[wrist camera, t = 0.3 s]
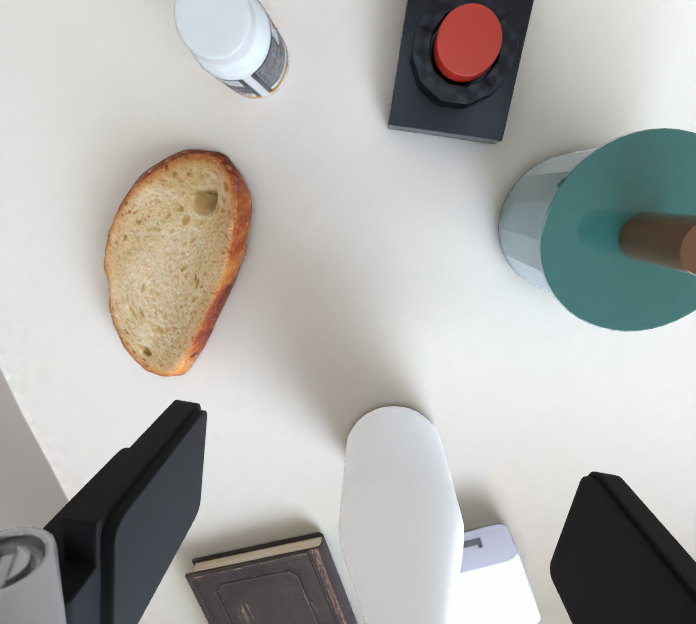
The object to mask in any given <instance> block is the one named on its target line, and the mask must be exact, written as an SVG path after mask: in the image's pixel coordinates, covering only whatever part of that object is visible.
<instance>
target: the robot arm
mask: <svg viewBox="0 0 696 624" xmlns="http://www.w3.org/2000/svg"><path fill="white" fill-rule="evenodd" d="M206 423H207V412H206V411H203V410H201V407H200V404H198V403H192V402H186V401H181V400H175V401H174V402H173V403H172V404H171V405H170V406H169V407H168V408H167V409H166V410H165V411H164V412H163V413H162V414H161V415H160V416H159V417H158V419H157V420H156V421H155V422H154V423H153V424H152V425H151V426H150V427H149V428H148V429H147V430H146V431H145V432H144V433H143V434H142V435H141V436H140V437H139V438H138V439H137V441H136V442H135V443H134V444H133V445H132V446H131V447H130V448H123V449H121V450H120V451H119V452H118V453H117V454H116V455H115V456H114V457H113V458H112V459H111V460H110V461H109V462H108V463H107V464H106V465H105V466H104V467H103V468H102V469H101V470H100V471H99V472H98V473H97V474H96V475H95V476H94V477H93V478H92V479H91V480H90V481H89V482H88V483H87V484H86V485H85V486H84V487H83V488H82V489H81V490H80V491H79V492H78V493H77V494H76V495H75V496H74V497H73V498H72V499H71V500H70V501H69V502H68V503H67V504H66V506H64V507H63V509H62V510H61V511H60V512H59V513H58V514H57V515H56V516H55V517H54V518H53V519H52V520H51V521H50V522H49V523H48V524H47V525H46V526H45V527H44V528H43V529H40V528H36V527H15V528H10V529H5V530H2V531H0V624H138V622H139V621H140V619H141V617H142V615H143V613H144V611H145V609H146V608H147V606H148V604H149V602H150V600H151V598H152V597H153V595H154V593H155V591H156V589H157V587H158V586H159V584H160V582H161V580H162V578H163V576H164V575H165V573H166V571H167V569H168V567H169V565H170V564H171V562H172V560H173V558H174V556H175V554H176V553H177V551H178V549H179V547H180V545H181V543H182V541H183V540H184V538H185V536H186V534H187V532H188V530H189V529H190V527H191V525H192V523H193V521H194V519H195V517H196V515H197V513H198V510H199V506H200V500H201V487H202V474H203V461H204V449H205V436H206ZM550 574H551V578H552V581H553V583H554V585H555V587H556V589H557V591H558V593H559V596H560V598H561V600H562V602H563V604H564V606H565V608H566V611H567V613H568V615H569V617H570V619H571V621H572V623H573V624H696V562H695V561H694V560H693V559H692V557H691V556H690V555H689V554H688V553H687V552H686V551H685V549H684V548H683V547H682V546H681V545H680V544H679V543H678V542H677V540H676V539H675V538H674V537H673V536H672V535H671V534H670V532H669V531H668V530H667V529H666V528H665V527H664V526H663V525H662V523H661V522H660V521H659V520H658V519H657V518H656V517H655V515H654V514H653V513H652V512H651V511H650V510H649V509H648V508H647V506H646V505H645V504H644V503H643V502H642V501H641V500H640V498H639V497H638V496H637V495H636V494H635V493H634V492H633V490H632V489H631V488H630V487H629V486H628V485H627V484H626V483H625V481H624V480H623V479H622V478H621V477H619V476H616V475H611V474H605V473H599V472H591V473H590V474H589V475H588V476H585V477H583V478H582V479H581V481H580V483H579V486H578V489H577V491H576V494H575V497H574V500H573V502H572V505H571V508H570V511H569V513H568V516H567V519H566V522H565V524H564V527H563V530H562V533H561V535H560V538H559V541H558V543H557V546H556V549H555V552H554V554H553V557H552V560H551V563H550Z"/></svg>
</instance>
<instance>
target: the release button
mask: <svg viewBox="0 0 696 624" xmlns="http://www.w3.org/2000/svg"><path fill="white" fill-rule="evenodd" d="M501 44H502V29H501V25H500V22H499V20H498V18H497V17H496V15H495V14H494V13H493V12H492V11H491V10H490V9H489V8H487V7H485V6H483V5H481V4H475V3H470V4H464V5H461V6H459V7H457V8H455V9H454V10H452V11H451V12H450V13H449V14H448V15H447V16H446V18H445V19H444V20H443V22H442V24H441V26H440V28H439V30H438V33H437V35H436V38H435V42H434V48H433V53H434V59H435V63H436V65H437V67H438V69H439V70H440V72H441V73H442V74H443V75H444V76H445V77H447V78H448V79H450V80H452V81H456V82H468V81H471V80H474V79H476V78H478V77H479V76H481V75H482V74H483V73H484V72H485V71H486V70H487V69H488V68H489V67H490V66H491V65H492V63H493V62H494V61H495V59H496V58H497V56H498V54H499V51H500V48H501Z"/></svg>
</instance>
